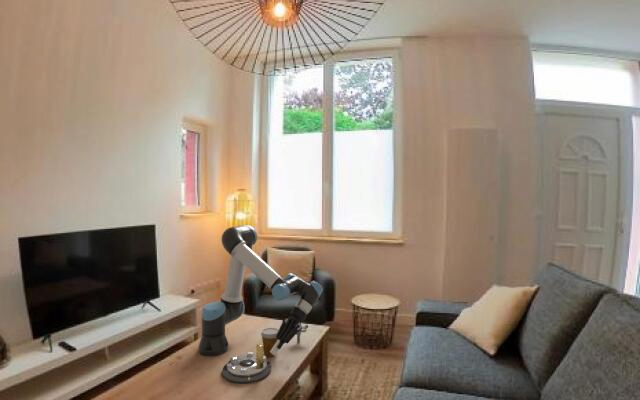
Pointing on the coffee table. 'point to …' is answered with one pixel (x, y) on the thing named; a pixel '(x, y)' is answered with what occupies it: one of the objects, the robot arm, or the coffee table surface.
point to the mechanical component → (300, 332)
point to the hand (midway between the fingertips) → (272, 353)
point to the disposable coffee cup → (269, 340)
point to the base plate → (246, 379)
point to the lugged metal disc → (248, 363)
